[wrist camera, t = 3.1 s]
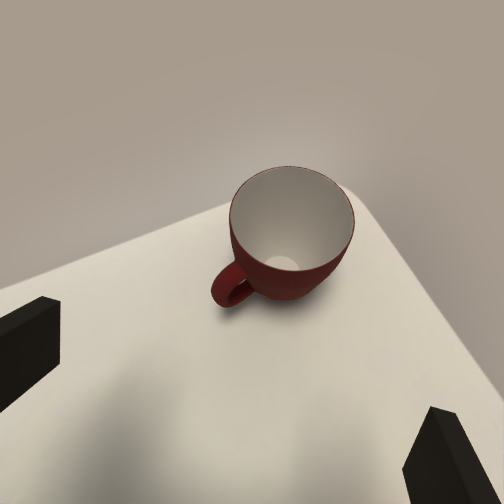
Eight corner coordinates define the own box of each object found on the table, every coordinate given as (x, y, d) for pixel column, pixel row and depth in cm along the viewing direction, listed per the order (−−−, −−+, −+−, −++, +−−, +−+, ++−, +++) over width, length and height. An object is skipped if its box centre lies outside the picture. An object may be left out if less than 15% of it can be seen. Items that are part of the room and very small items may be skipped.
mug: (261, 361, 27) (265, 331, 19) (195, 293, 30) (171, 238, 21) (343, 276, 31) (381, 215, 22) (278, 221, 33) (288, 147, 24)
